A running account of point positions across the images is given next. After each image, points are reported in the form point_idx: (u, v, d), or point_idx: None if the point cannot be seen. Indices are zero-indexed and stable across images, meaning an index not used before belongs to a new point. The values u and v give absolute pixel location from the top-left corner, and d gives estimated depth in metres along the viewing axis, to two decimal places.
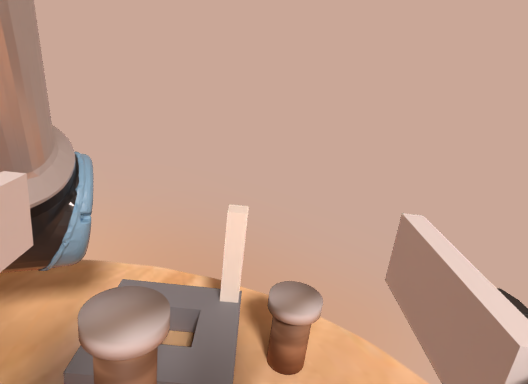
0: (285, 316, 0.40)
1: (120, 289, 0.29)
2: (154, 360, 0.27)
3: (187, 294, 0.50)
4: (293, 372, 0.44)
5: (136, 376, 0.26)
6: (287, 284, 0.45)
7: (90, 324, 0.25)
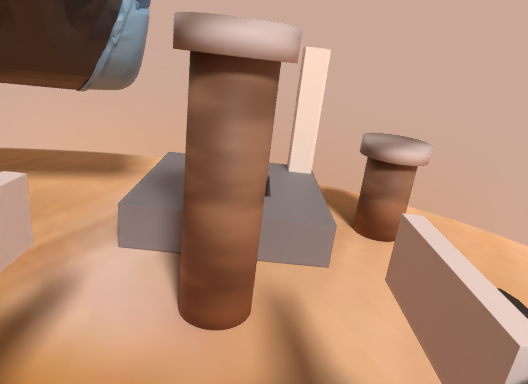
0: (391, 153, 0.32)
1: None
2: (274, 108, 0.19)
3: None
4: (391, 238, 0.35)
5: (257, 115, 0.18)
6: (381, 134, 0.36)
7: None
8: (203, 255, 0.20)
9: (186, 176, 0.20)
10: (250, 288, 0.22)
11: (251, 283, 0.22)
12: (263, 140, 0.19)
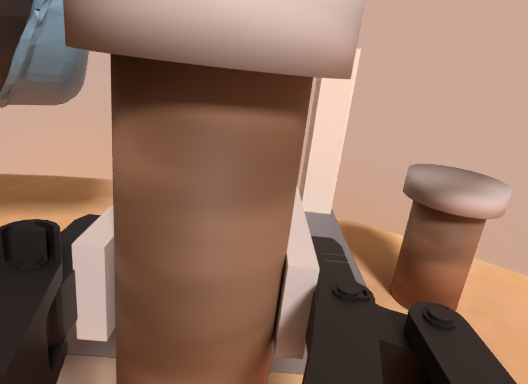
0: (456, 201, 0.22)
1: None
2: (298, 172, 0.09)
3: None
4: None
5: (261, 198, 0.08)
6: (431, 166, 0.26)
7: None
8: None
9: (116, 308, 0.10)
10: None
11: None
12: (274, 245, 0.09)
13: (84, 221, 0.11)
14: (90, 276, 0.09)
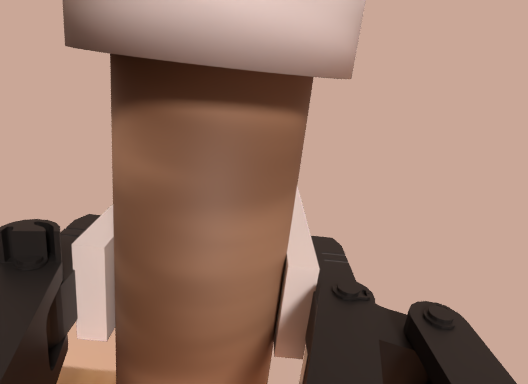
0: None
1: None
2: (298, 173, 0.09)
3: None
4: None
5: (261, 198, 0.08)
6: None
7: None
8: None
9: (115, 308, 0.10)
10: None
11: None
12: (275, 245, 0.09)
13: (84, 221, 0.11)
14: (89, 276, 0.09)
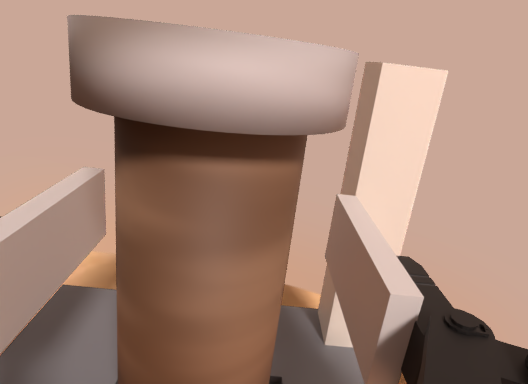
0: None
1: None
2: None
3: None
4: None
5: (259, 242, 0.08)
6: None
7: None
8: None
9: (118, 341, 0.10)
10: None
11: None
12: (271, 284, 0.09)
13: None
14: None
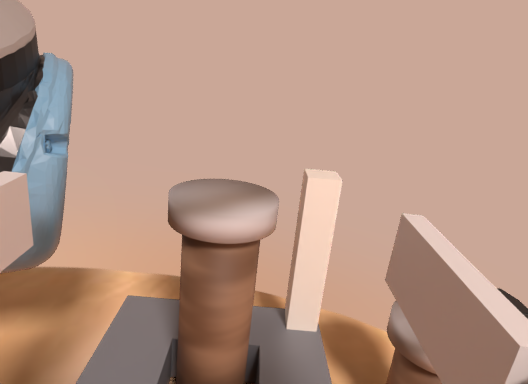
0: None
1: (208, 180, 0.23)
2: (257, 262, 0.22)
3: None
4: None
5: (240, 277, 0.21)
6: None
7: (188, 201, 0.19)
8: None
9: (180, 319, 0.22)
10: None
11: None
12: (247, 293, 0.21)
13: None
14: None
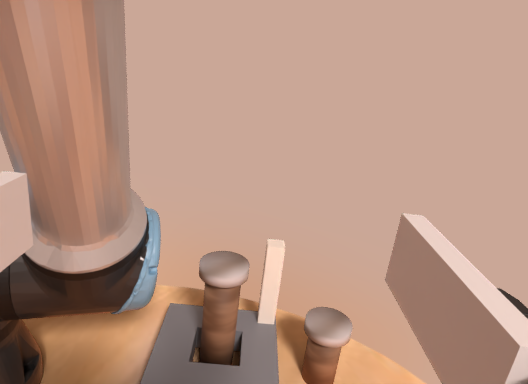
0: (321, 339, 0.47)
1: (217, 252, 0.48)
2: (239, 293, 0.47)
3: None
4: None
5: (231, 300, 0.46)
6: (320, 310, 0.51)
7: (208, 269, 0.45)
8: (210, 350, 0.48)
9: (203, 318, 0.48)
10: (230, 361, 0.50)
11: (231, 359, 0.50)
12: (234, 307, 0.47)
13: None
14: None
